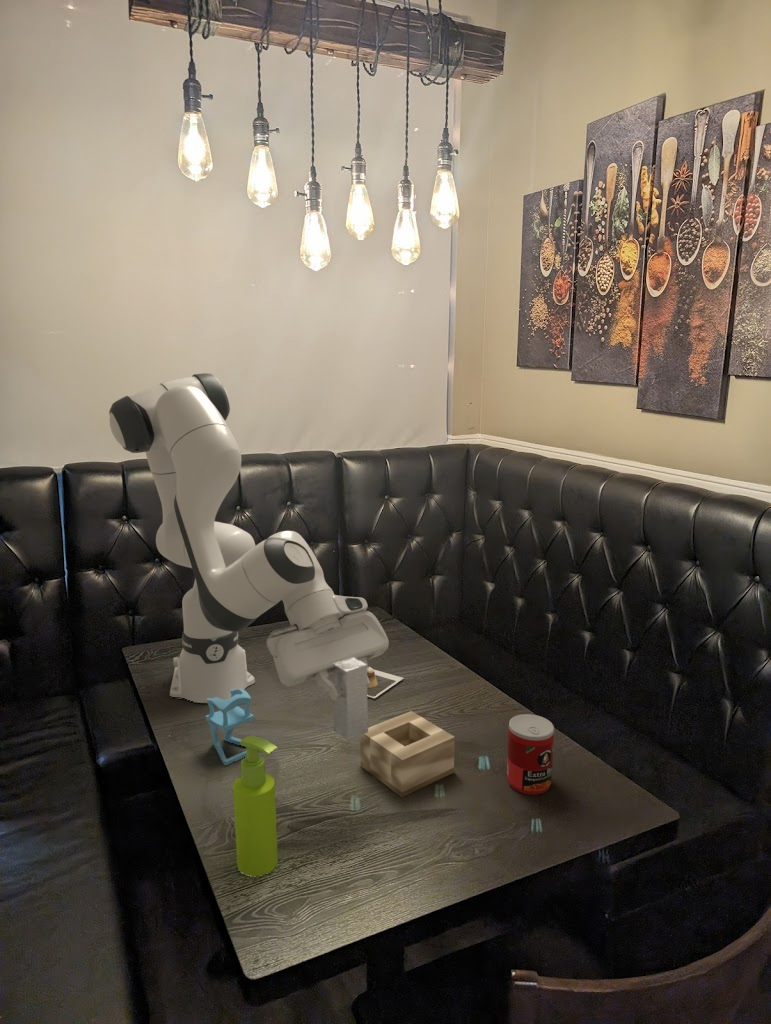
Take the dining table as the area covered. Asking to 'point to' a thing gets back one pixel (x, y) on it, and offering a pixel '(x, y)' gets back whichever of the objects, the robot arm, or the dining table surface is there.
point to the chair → (229, 720)
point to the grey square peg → (351, 698)
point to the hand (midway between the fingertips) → (352, 692)
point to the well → (407, 753)
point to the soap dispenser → (255, 811)
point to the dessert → (373, 680)
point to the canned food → (530, 753)
